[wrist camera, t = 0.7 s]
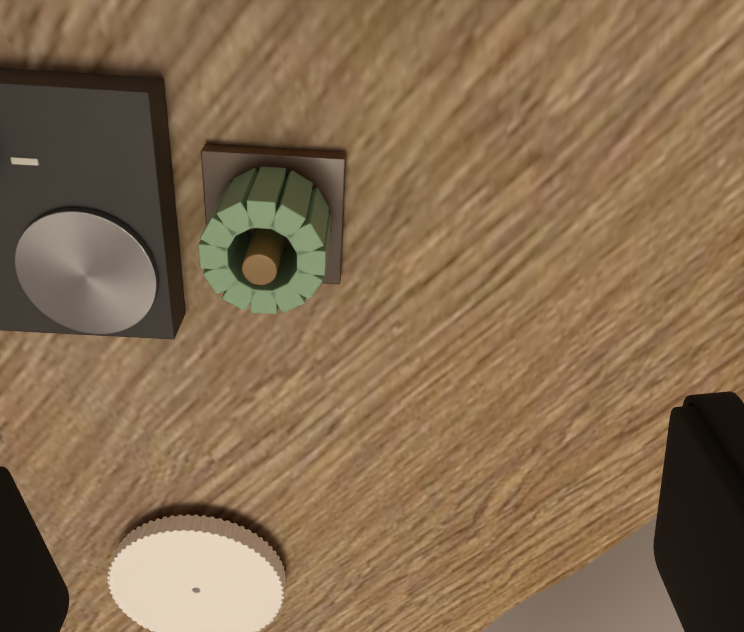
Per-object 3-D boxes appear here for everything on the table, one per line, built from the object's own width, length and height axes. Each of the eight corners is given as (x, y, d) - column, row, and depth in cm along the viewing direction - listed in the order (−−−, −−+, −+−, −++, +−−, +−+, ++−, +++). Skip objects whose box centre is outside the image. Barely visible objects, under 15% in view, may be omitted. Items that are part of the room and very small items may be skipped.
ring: (214, 163, 39) (194, 197, 35) (332, 170, 39) (327, 205, 35) (220, 268, 43) (203, 310, 38) (329, 274, 43) (323, 317, 39)
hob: (-117, 54, 37) (-155, 68, 35) (163, 72, 38) (146, 86, 35) (-45, 302, 45) (-72, 328, 43) (185, 314, 46) (173, 341, 43)
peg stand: (205, 143, 40) (173, 191, 34) (346, 151, 40) (340, 201, 34) (213, 268, 44) (186, 331, 38) (340, 275, 44) (335, 339, 38)
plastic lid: (321, 569, 59) (319, 595, 57) (210, 636, 64) (204, 663, 62) (194, 477, 54) (186, 502, 51) (83, 559, 58) (71, 585, 56)
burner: (5, 202, 39) (0, 207, 38) (151, 211, 39) (148, 215, 38) (33, 325, 43) (29, 330, 42) (165, 332, 43) (163, 338, 43)
